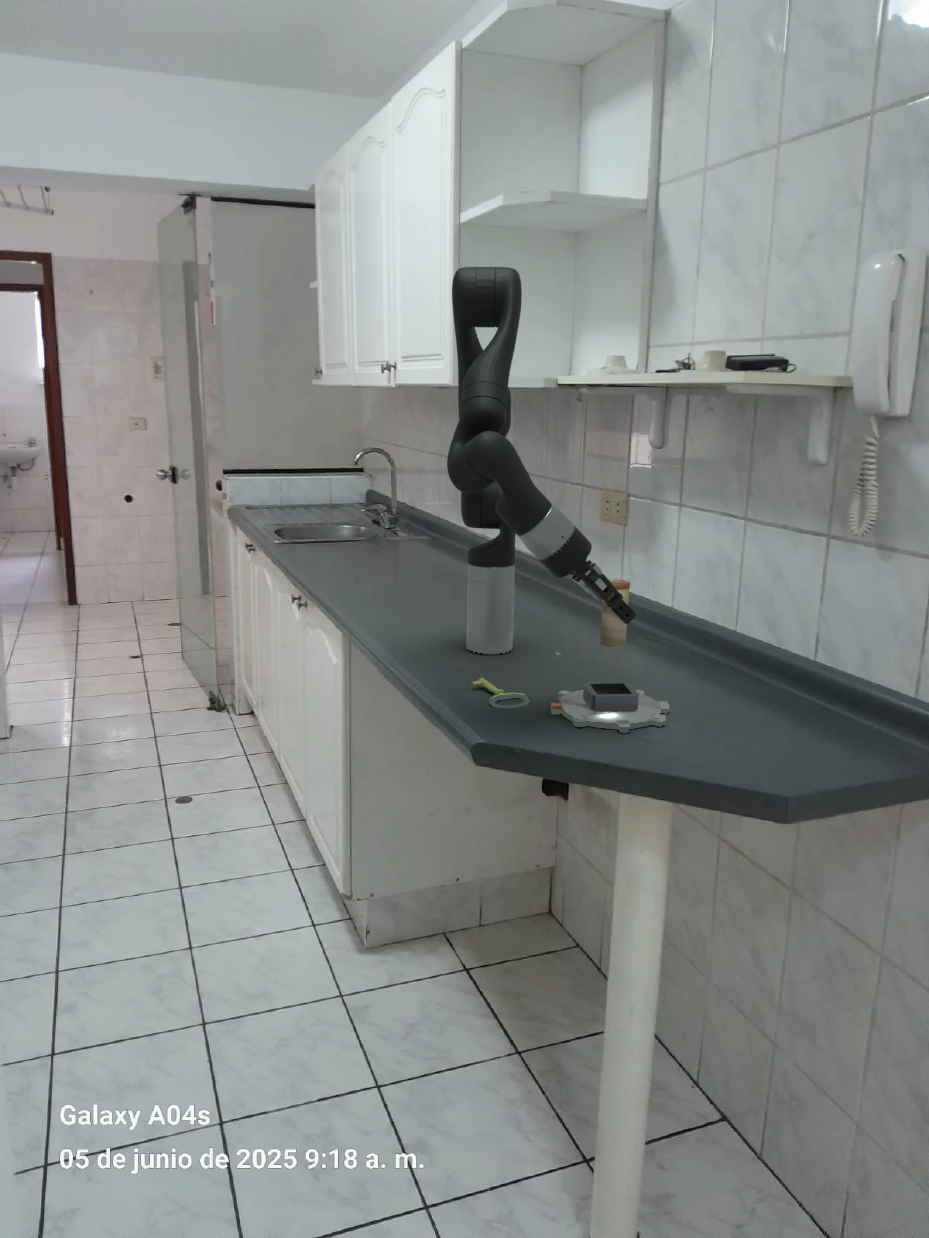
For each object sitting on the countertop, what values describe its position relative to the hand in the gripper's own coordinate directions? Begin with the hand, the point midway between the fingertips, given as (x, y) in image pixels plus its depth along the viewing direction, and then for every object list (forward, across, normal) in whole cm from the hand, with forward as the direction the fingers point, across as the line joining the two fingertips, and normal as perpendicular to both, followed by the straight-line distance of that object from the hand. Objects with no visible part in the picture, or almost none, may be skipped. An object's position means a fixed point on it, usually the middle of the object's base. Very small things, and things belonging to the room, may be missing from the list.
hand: (625, 615), depth 148 cm
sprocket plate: (+10, 0, +12) cm, 16 cm away
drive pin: (+2, 0, +5) cm, 5 cm away
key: (-1, +10, +24) cm, 26 cm away
